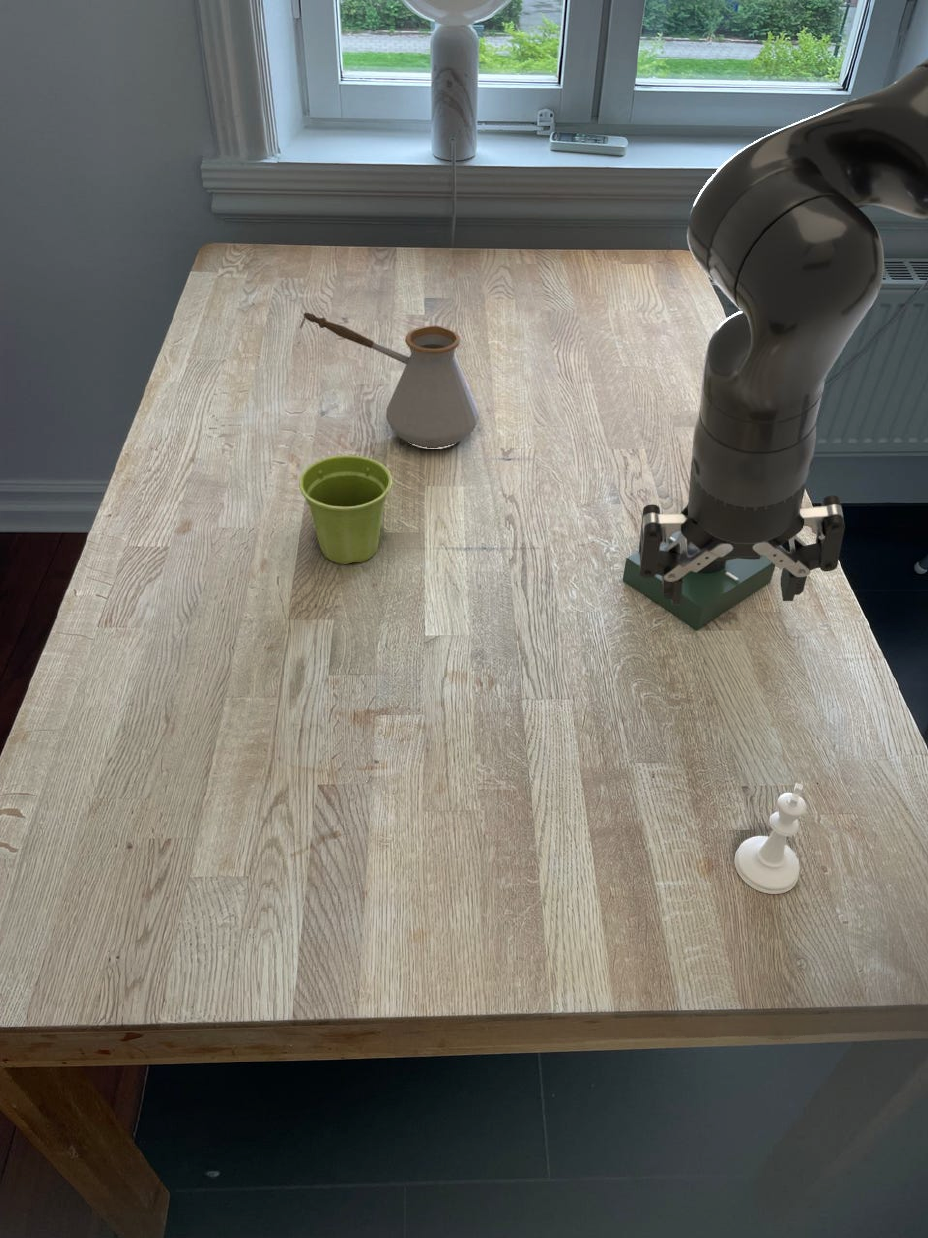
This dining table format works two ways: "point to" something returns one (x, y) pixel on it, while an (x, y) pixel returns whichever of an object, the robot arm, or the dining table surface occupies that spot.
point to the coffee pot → (424, 386)
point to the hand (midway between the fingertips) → (730, 593)
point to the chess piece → (773, 849)
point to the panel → (703, 587)
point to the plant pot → (346, 505)
